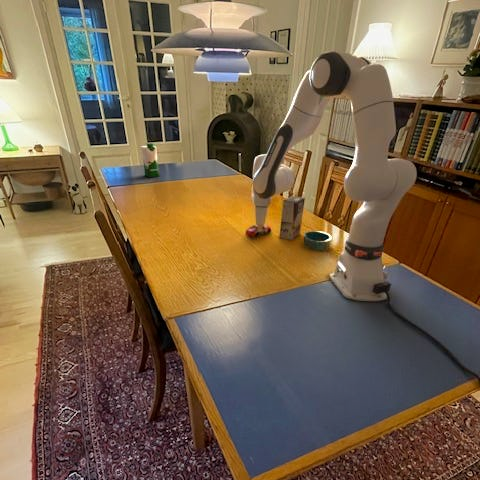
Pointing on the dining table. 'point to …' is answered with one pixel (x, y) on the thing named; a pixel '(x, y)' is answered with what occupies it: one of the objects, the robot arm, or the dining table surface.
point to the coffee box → (291, 217)
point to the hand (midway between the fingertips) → (260, 227)
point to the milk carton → (150, 160)
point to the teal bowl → (317, 240)
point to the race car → (254, 230)
